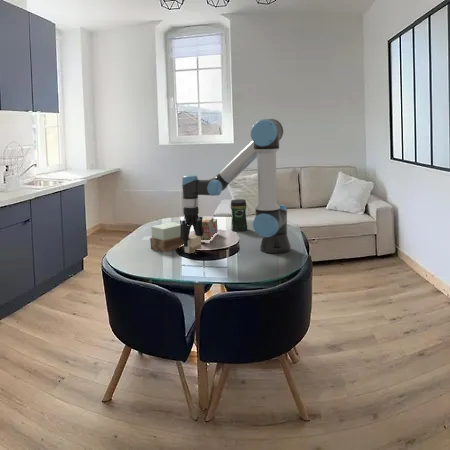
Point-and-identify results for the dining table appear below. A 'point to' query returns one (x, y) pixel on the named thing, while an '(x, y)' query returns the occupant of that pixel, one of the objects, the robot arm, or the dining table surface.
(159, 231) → the tower top
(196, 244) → the maple block
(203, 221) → the printed cardboard box
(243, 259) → the dining table surface
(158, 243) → the tower base
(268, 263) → the dining table surface
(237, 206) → the coffee jar
